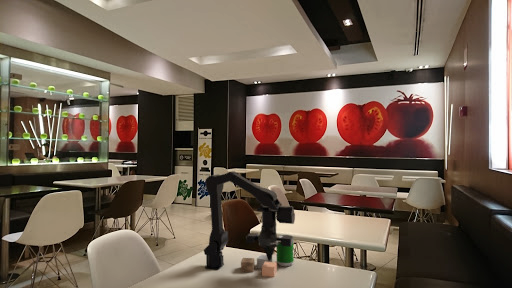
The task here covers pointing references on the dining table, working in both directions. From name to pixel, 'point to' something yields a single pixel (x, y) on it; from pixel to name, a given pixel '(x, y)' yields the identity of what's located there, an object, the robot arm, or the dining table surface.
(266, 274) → the terracotta block
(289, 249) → the soda can
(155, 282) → the dining table surface
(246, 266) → the walnut block
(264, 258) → the slate block
